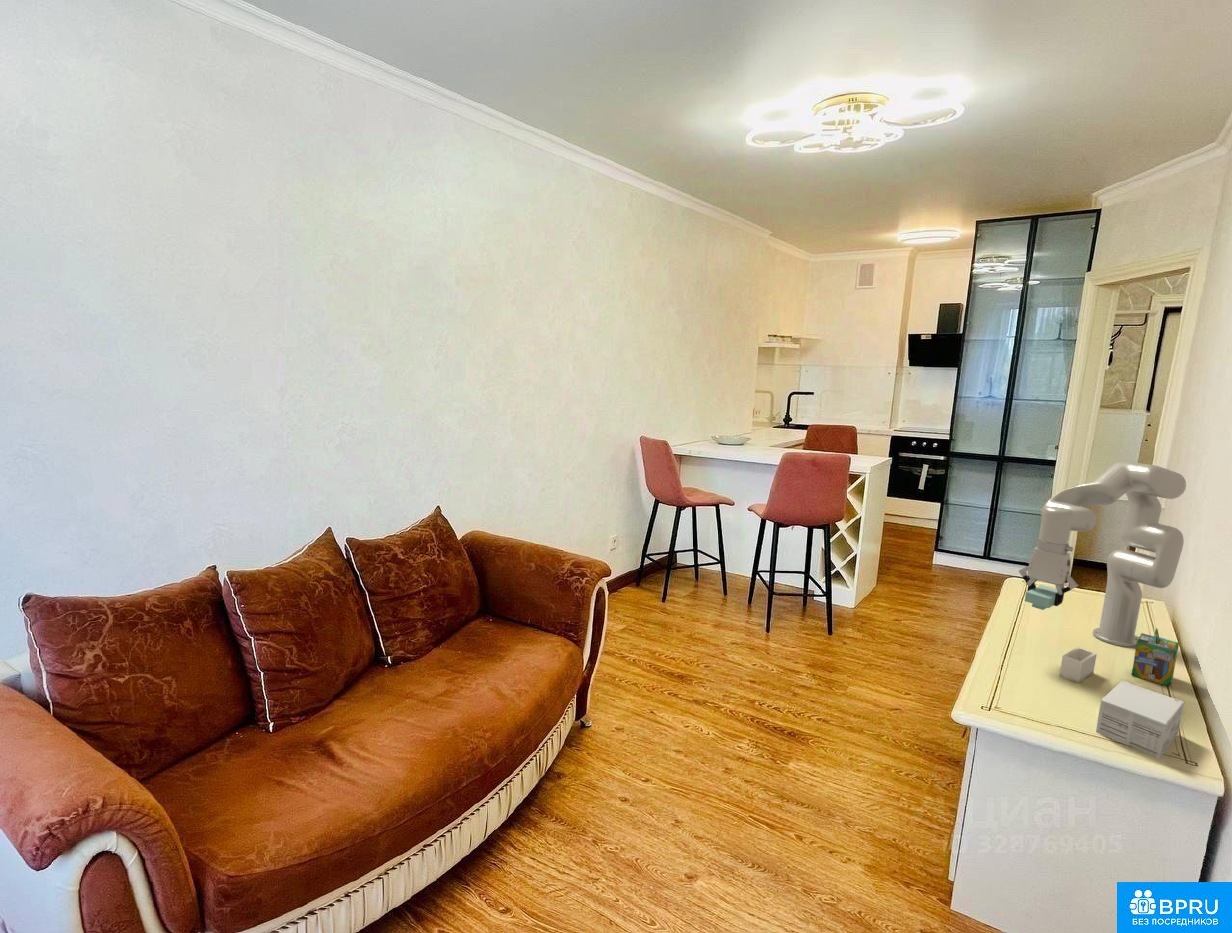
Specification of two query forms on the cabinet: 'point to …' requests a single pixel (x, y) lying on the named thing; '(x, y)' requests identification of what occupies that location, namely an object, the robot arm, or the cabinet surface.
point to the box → (1077, 664)
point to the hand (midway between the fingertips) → (1043, 600)
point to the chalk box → (1155, 659)
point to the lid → (1041, 597)
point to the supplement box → (1140, 718)
